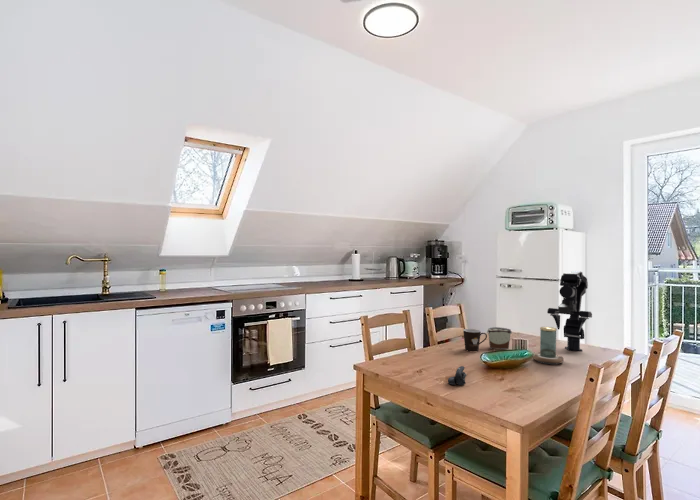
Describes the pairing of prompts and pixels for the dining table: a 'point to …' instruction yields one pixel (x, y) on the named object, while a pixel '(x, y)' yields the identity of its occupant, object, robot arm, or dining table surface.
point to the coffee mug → (472, 339)
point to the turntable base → (547, 363)
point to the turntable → (549, 360)
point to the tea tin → (548, 342)
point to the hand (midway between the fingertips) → (568, 330)
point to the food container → (499, 337)
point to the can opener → (458, 377)
